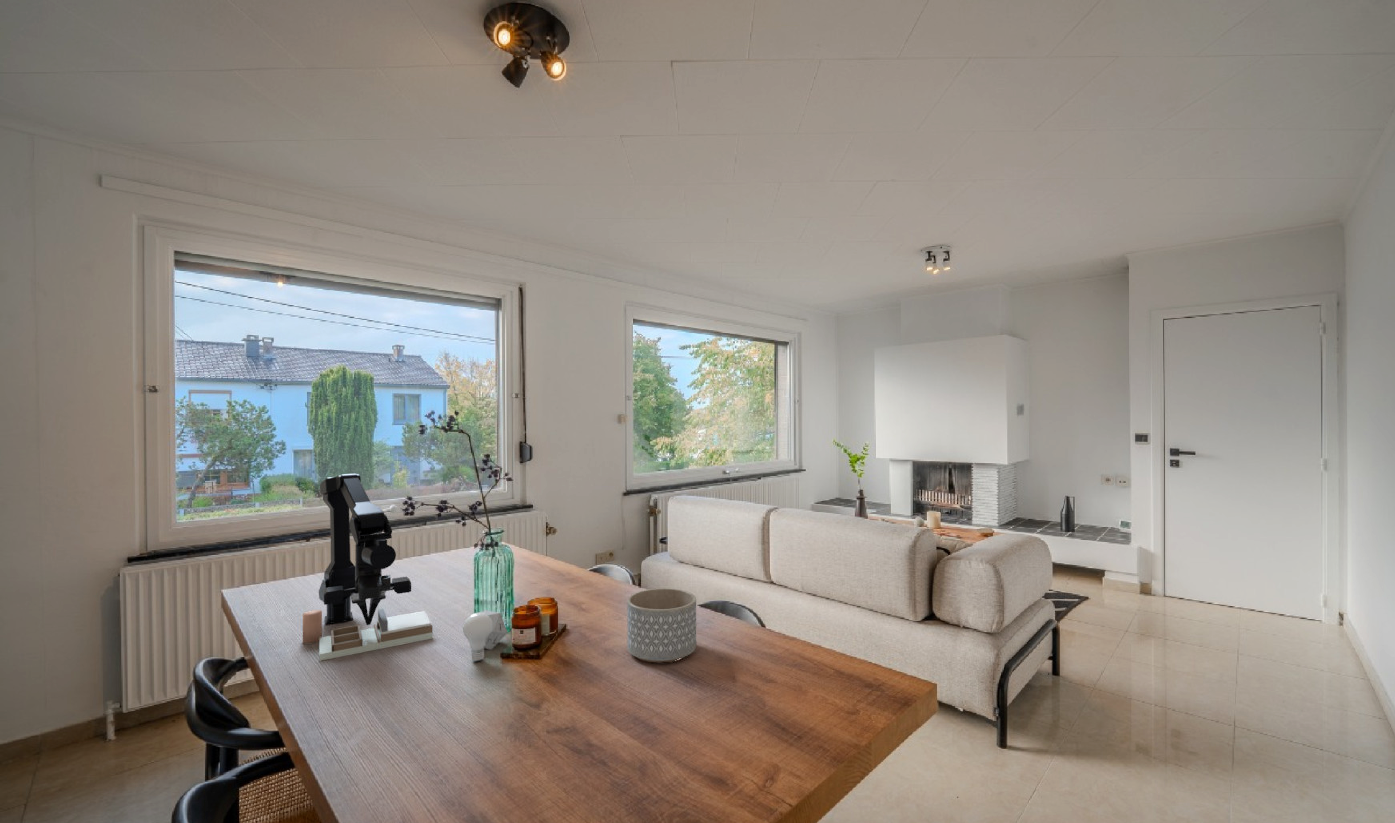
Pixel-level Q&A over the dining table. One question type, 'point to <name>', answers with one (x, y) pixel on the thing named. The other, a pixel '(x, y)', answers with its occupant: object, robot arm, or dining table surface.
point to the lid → (402, 621)
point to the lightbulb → (477, 633)
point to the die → (495, 629)
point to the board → (367, 640)
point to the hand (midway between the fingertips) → (368, 624)
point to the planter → (661, 624)
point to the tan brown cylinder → (312, 626)
